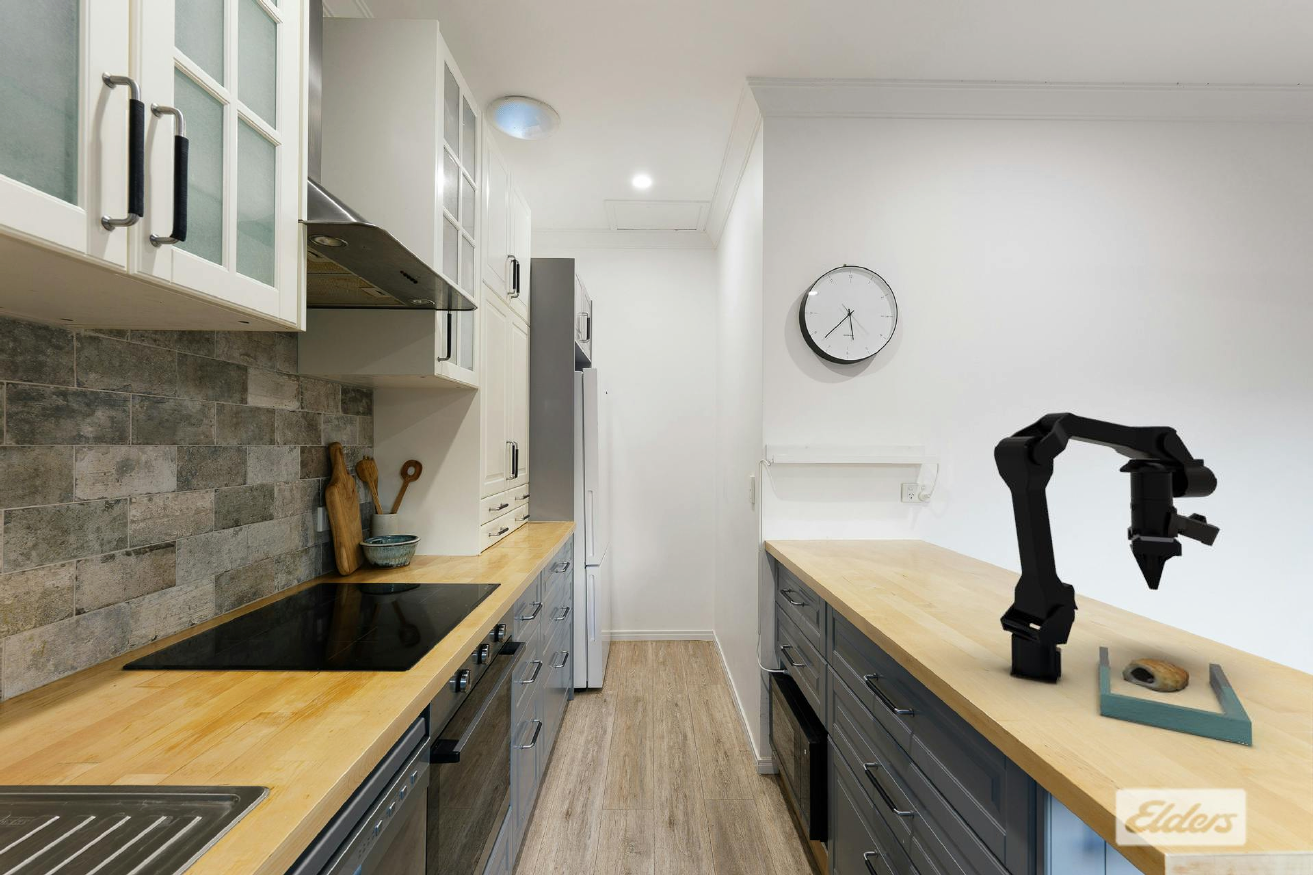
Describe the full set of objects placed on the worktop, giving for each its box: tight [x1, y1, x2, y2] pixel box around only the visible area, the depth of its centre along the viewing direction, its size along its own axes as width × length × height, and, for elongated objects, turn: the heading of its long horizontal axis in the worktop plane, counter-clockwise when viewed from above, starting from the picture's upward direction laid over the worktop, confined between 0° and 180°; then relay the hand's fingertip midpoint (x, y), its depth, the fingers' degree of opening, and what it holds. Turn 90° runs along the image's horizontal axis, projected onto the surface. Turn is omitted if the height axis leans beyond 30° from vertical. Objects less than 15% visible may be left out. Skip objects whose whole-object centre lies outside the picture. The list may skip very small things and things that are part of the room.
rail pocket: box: [1098, 645, 1253, 746], centre depth 91 cm, size 15×24×3 cm, turn 144°
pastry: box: [1121, 658, 1190, 692], centre depth 97 cm, size 9×7×4 cm
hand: (1153, 588), depth 105 cm, fingers closed
